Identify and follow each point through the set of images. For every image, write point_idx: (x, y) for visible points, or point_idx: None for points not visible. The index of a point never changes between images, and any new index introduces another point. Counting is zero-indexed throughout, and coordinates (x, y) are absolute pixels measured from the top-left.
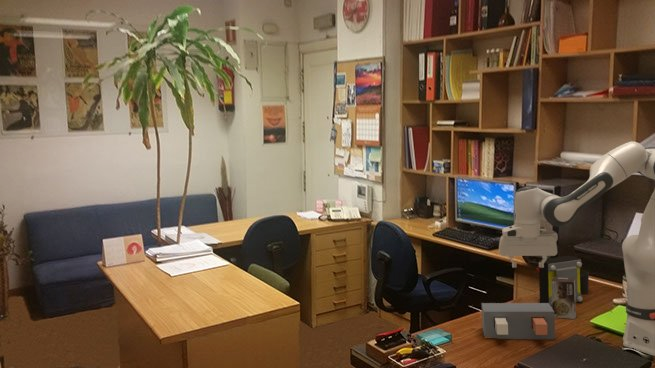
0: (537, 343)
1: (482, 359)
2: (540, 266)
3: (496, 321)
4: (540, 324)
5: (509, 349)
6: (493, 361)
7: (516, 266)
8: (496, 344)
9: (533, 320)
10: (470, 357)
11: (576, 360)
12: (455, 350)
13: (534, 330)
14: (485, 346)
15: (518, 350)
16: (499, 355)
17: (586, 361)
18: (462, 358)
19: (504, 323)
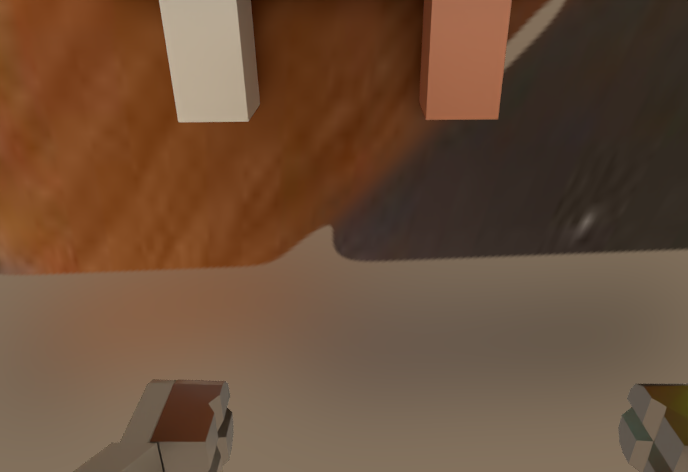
0: None
1: (152, 243)
2: (640, 460)
3: (173, 68)
4: (455, 119)
5: (272, 130)
6: (199, 259)
7: (226, 450)
8: None
9: (430, 23)
10: (99, 226)
11: (547, 236)
12: (15, 154)
13: (422, 47)
14: (153, 97)
15: (315, 141)
16: (224, 201)
17: (584, 244)
18: (67, 237)
19: (226, 107)
